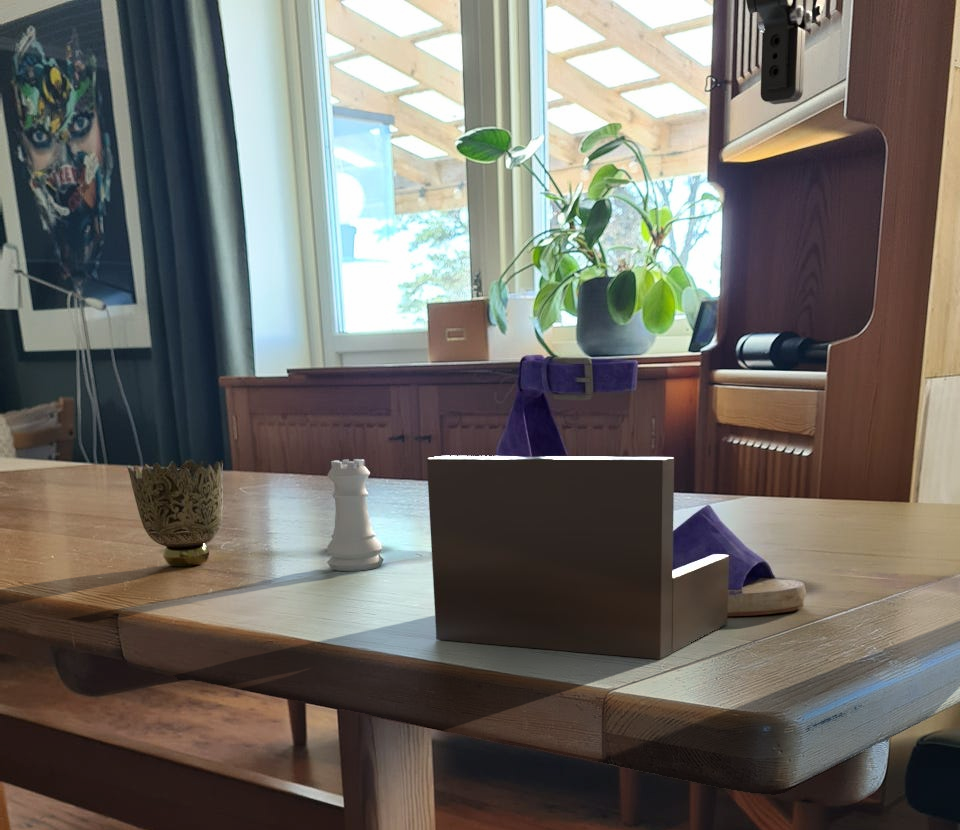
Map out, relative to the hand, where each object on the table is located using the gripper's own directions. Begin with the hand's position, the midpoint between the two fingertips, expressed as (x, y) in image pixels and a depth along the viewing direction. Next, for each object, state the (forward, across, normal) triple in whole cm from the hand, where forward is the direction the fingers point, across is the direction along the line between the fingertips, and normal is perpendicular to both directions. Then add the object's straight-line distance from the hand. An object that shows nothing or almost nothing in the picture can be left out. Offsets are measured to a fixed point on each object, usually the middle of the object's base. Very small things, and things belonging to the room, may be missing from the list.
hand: (781, 101), depth 79 cm
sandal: (+29, -12, +3) cm, 32 cm away
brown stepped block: (+29, -22, +3) cm, 36 cm away
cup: (+29, -9, +46) cm, 55 cm away
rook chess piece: (+29, -6, +31) cm, 43 cm away
